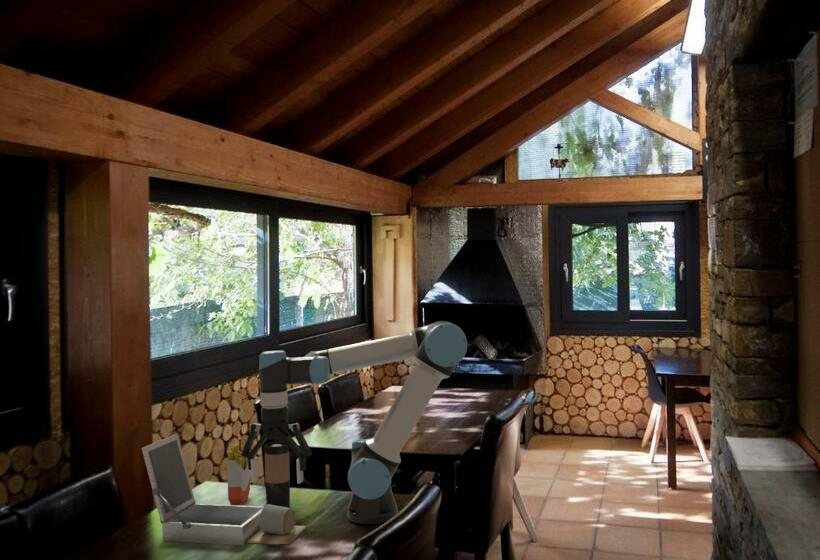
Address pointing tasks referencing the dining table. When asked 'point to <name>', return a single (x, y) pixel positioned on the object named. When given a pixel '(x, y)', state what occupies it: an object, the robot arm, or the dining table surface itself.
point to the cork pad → (277, 537)
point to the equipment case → (192, 502)
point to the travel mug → (277, 474)
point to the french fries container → (237, 476)
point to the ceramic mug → (276, 520)
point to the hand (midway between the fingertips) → (277, 481)
